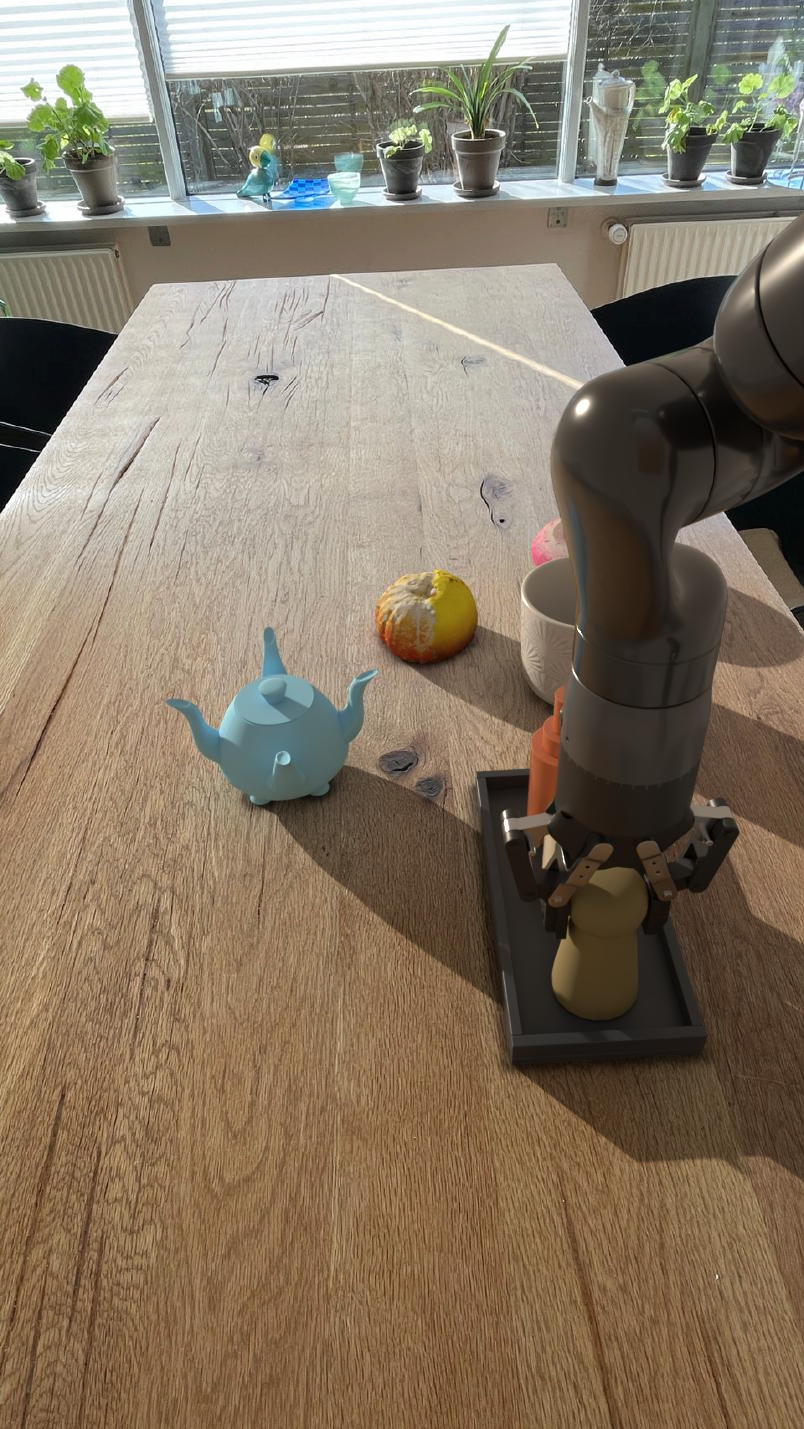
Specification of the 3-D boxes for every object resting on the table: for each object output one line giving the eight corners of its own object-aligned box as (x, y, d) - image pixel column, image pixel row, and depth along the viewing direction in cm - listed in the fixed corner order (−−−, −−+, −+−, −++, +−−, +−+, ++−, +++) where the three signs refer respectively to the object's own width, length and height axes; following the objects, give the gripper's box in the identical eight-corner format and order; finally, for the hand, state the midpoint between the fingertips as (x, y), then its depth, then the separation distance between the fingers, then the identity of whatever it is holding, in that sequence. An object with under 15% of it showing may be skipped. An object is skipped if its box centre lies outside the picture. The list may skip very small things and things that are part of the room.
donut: (521, 597, 104) (523, 558, 101) (541, 536, 114) (543, 499, 111) (646, 611, 101) (652, 571, 98) (656, 548, 111) (661, 509, 108)
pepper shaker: (566, 934, 69) (577, 832, 62) (648, 963, 67) (669, 860, 60) (537, 1000, 65) (546, 899, 58) (624, 1033, 63) (644, 933, 56)
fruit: (401, 592, 105) (418, 536, 99) (482, 639, 103) (505, 583, 97) (348, 645, 98) (363, 587, 92) (434, 695, 96) (455, 639, 90)
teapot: (283, 708, 92) (268, 622, 85) (392, 760, 85) (386, 671, 79) (186, 787, 84) (162, 699, 77) (299, 850, 78) (283, 760, 71)
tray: (701, 1054, 63) (707, 1035, 61) (511, 1065, 63) (512, 1046, 61) (620, 782, 82) (623, 762, 81) (475, 790, 82) (475, 771, 81)
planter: (535, 735, 87) (541, 638, 80) (503, 655, 96) (506, 562, 89) (665, 716, 88) (682, 620, 81) (621, 639, 98) (633, 547, 90)
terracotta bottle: (604, 829, 77) (622, 698, 68) (556, 859, 75) (568, 728, 66) (559, 793, 80) (571, 663, 71) (513, 821, 78) (519, 691, 69)
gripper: (506, 789, 48) (499, 982, 59) (789, 773, 48) (729, 969, 59) (490, 695, 54) (486, 887, 65) (744, 680, 54) (696, 875, 65)
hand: (602, 925), depth 62 cm, fingers closed on pepper shaker, 5 cm apart
